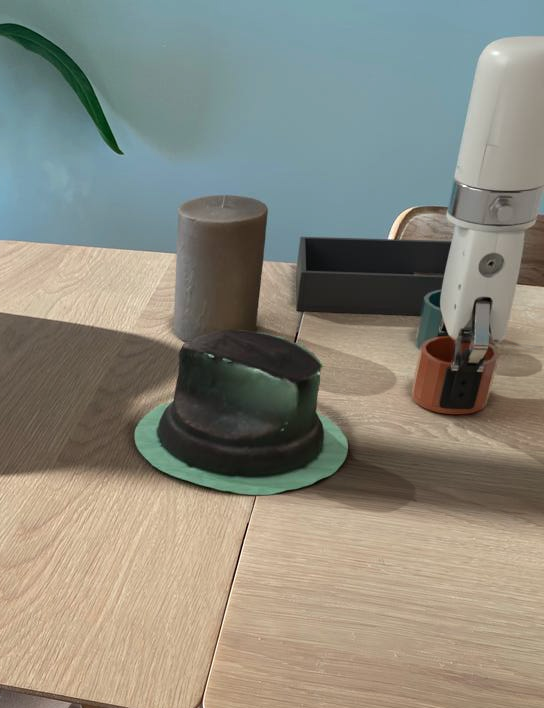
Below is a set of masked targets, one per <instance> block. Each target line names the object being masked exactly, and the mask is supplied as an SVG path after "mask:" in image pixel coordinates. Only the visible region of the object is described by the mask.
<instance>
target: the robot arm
mask: <svg viewBox="0 0 544 708" xmlns="http://www.w3.org/2000/svg"><path fill="white" fill-rule="evenodd" d="M474 72H475V73H474V78H473V82H472V88H471V93H470V97H469V102H468V107H467V112H466V117H465V122H464V127H463V132H462V137H461V142H460V146H459V151H458V156H457V162H456V166H455V170H454V176H453V180H452V185H451V186H452V187H451V190H450V196H449V200H448V205H447V210H446V215H445V218H446V220H447V221H448V222H449V223H452V224H453V225H455V226H454V228H453V235H452V238H451V241H452V243H451V247H450V251H449V255H448V260H447V265H446V269H445V274H443V276H444V279H443V285H442V291H441V298H440V308H441V312H442V319H441V322H440V328H439V331H440V332H444V333H437V337H441V336H450V337H451V338H452V339H453V340H454V345H453V353H452V361H451V367H447V369H446V373H445V378H444V382H443V387H442V391H441V396H440V400H439V405H440V407H441V408H449V409H472V408H473V407H474V406H475V402H476V398H477V394H478V390H479V386H480V382H481V378H482V374H483V369H484V364H485V359H486V357H485V356H486V352H487V349H488V345H489V343H490V338H491V340H492V341H495V343H500V342H502V341H503V340H505V338H506V335H507V330H508V326H509V320H510V317H511V312H512V308H513V303H514V298H515V293H516V288H517V285H518V279H519V274H520V269H521V264H522V257H523V251H524V242H525V233H526V230H527V229H530V228H532V227H533V226H535V224H536V222H537V218H538V214H539V211H540V206H541V203H542V199H543V195H544V35H543V36H540V35H521V36H520V35H519V36H518V35H517V36H508V37H503V38H499V39H496V40H494V41H492V42H491V43H489V44H487V45H486V46H485V48H484V49H483V50H482V52H481V53H480V55H479V58H478V60H477V64H476V68H475V71H474ZM469 330H472V336H471V334H464V333H468V332H469ZM462 343H463V344H470V345H469V350H466V349H465V350H464V352H463V353H462V355H461V347H462ZM460 355H461V356H460Z"/></svg>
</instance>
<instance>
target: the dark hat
mask: <svg viewBox="0 0 544 708" xmlns="http://www.w3.org/2000/svg"><path fill="white" fill-rule="evenodd" d="M321 370H323V362H321V360H320V359H319V358H318V357H317V356H316V355H315V353H314V352H312V351H310V350H309V348H306V346H305V345H304V344H300V343H298V342H294V341H291V340H290V339H287V338H285V337H283V336H280V335H279V336H278V335H273V334H269V333H265V332H258V331H257V332H253V331H245V330H224V331H216V332H212V333H209V334H206V335H202V336H199V337H197V338H194V339H192V340H189V341H188V342H185V343H183V344H182V346H181V347H180V350H179V353H178V371H177V372H178V373H177V378H176V383H175V389H174V394H173V400H171V401H170V402H165V403H163V404H159V405H157V406H156V407H154V408H153V409H151V410H150V411H149V412H148V413H146V414H145V415H144V416H143V417H142V418H141V419H140V420H139V421H138V424H137V425H136V427H135V430H134V443H135V445H136V448H137V450H138V451H139V453H140V454H141V455H142V456H143V457H144V459H146V460H147V461H148V462H149V463H150V464H151V466H153V467H155V468H156V469H158V470H159V471H161V472H163V473H166V474H168V475H170V476H172V477H174V478H178V479H180V480H184V481H188V482H191V483H194V484H196V485H200V486H203V487H208V488H211V489H214V490H218V491H223V492H231V493H233V494H234V493H236V494H239V495H248V496H249V495H252V496H269V495H275V494H278V493H282V492H285V491H289V490H297V489H300V488H304V487H307V486H310V485H313V484H314V483H316V482H318V481H320V480H322V479H324V478H327V477H330V476H332V475H333V474H335V473H336V472H337V471H338V470H339V468H340V467H341V466H342V465H343V463H344V462H345V460H346V458H347V455H348V450H349V443H348V439H347V437H346V435H345V434H344V433H343V431H342V430H341V429H340V427H339V425H336V424H335V422H333V420H331V419H330V418H329V417H327V416H325V415H323V414H322V413H320V412H318V411H317V407H318V396H319V390H320V383H321V373H322V372H321Z"/></svg>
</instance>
